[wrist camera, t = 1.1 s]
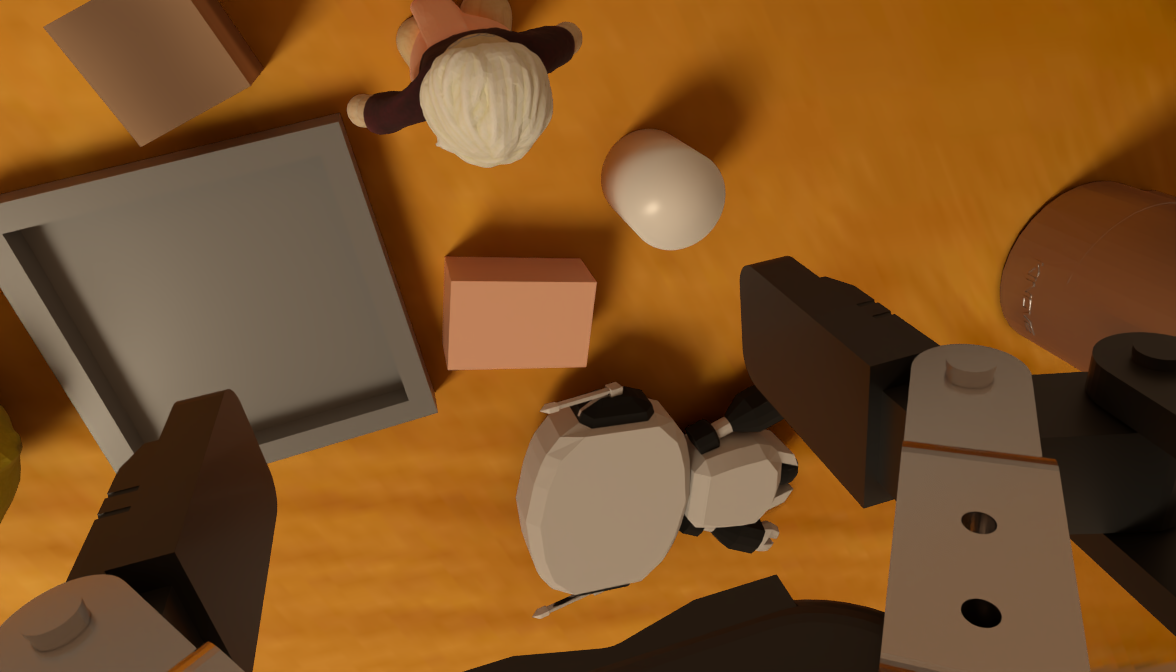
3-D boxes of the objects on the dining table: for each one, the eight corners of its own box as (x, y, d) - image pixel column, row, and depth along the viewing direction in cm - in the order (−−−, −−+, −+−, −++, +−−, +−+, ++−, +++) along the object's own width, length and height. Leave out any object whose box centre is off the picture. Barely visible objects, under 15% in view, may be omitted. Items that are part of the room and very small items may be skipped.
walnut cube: (189, -42, 26) (162, -40, 23) (264, 68, 28) (250, 85, 25) (85, 15, 26) (42, 27, 23) (167, 122, 28) (140, 146, 25)
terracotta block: (579, 257, 35) (596, 282, 32) (570, 336, 36) (586, 366, 34) (444, 254, 33) (451, 281, 30) (441, 337, 35) (447, 370, 32)
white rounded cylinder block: (682, 118, 33) (720, 138, 29) (693, 206, 35) (729, 235, 31) (593, 141, 32) (620, 165, 29) (609, 229, 34) (637, 261, 31)
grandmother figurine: (505, -60, 28) (597, -62, 17) (555, 38, 30) (666, 92, 19) (326, 51, 28) (304, 119, 17) (387, 141, 30) (403, 254, 19)
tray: (339, 112, 29) (338, 121, 28) (434, 393, 36) (437, 412, 34) (-24, 200, 27) (-46, 214, 26) (144, 479, 34) (134, 503, 32)
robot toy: (786, 336, 41) (508, 367, 36) (837, 377, 37) (534, 418, 32) (750, 521, 46) (505, 568, 41) (792, 573, 42) (527, 632, 37)
